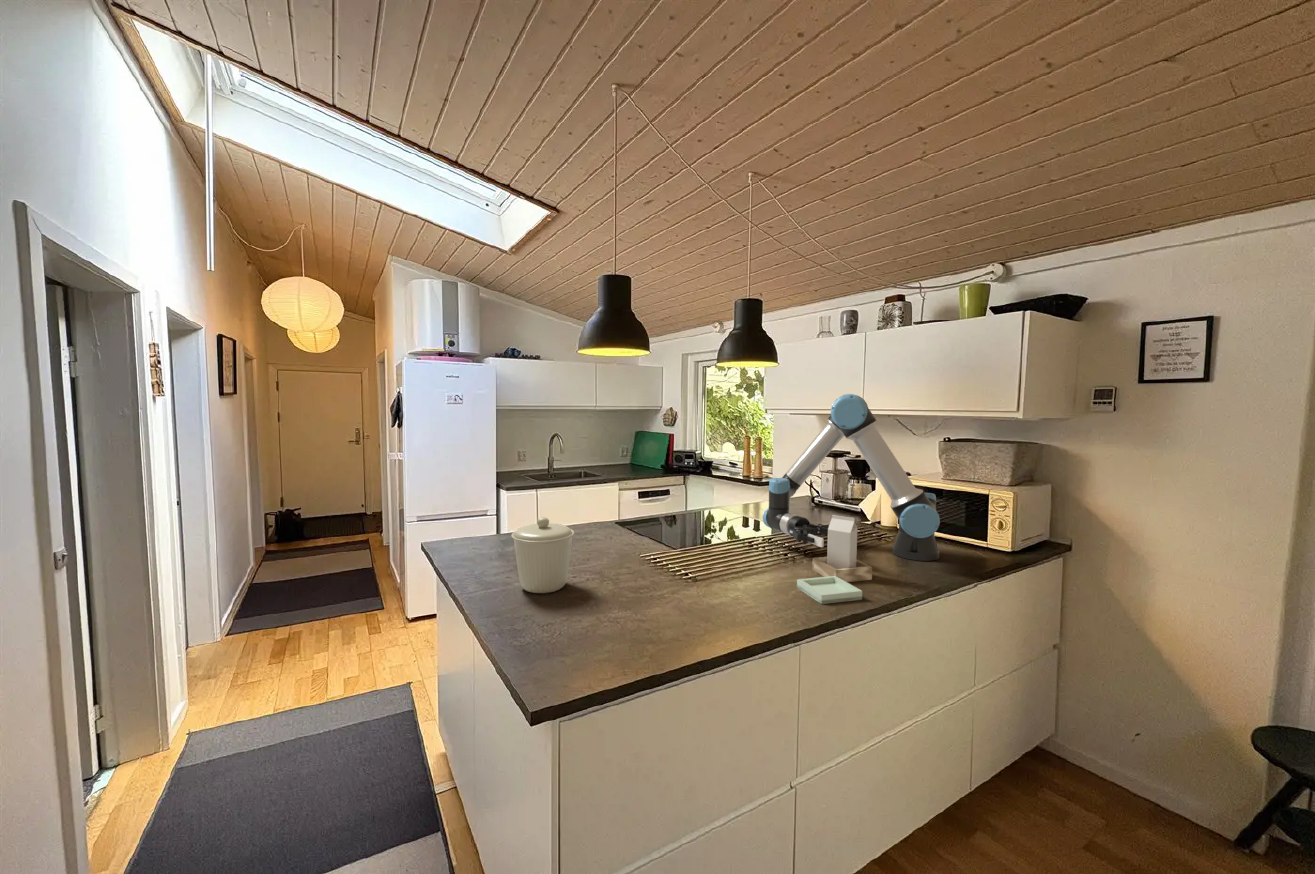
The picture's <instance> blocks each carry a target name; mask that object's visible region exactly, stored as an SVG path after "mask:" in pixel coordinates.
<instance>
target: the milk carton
mask: <svg viewBox="0 0 1315 874" xmlns="http://www.w3.org/2000/svg"><path fill="white" fill-rule="evenodd" d="M855 521H856V519H855V517H851V516H842V515H837V514H832V515H831V519H830V521H829V524H828V526H829V528H828V535H827V545H826V546H827V548H826V549H827V551H826V552H827V553H826V554H827V555H826V557H827V564H828V565H830V566H832V567H834V568H836V569H844V568H855V567H856V560H857V555H858V554H857V553H858V551H857V548H858V547H857V546H858V527H857V524H856V522H855Z"/></svg>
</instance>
